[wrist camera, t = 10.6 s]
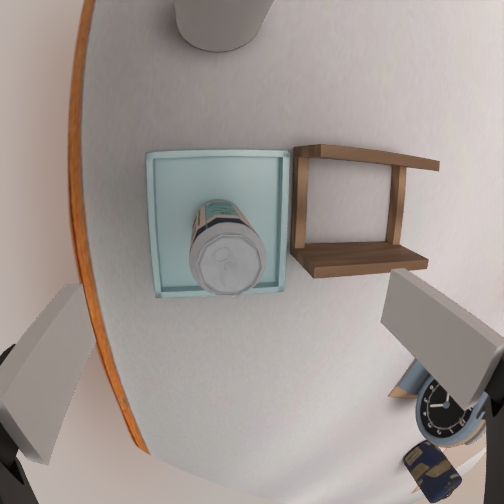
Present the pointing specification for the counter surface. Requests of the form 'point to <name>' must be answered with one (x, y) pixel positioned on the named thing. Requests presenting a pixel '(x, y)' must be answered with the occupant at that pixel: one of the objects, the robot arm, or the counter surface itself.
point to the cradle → (354, 253)
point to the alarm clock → (439, 409)
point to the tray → (204, 190)
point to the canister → (432, 472)
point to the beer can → (225, 250)
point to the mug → (220, 22)
